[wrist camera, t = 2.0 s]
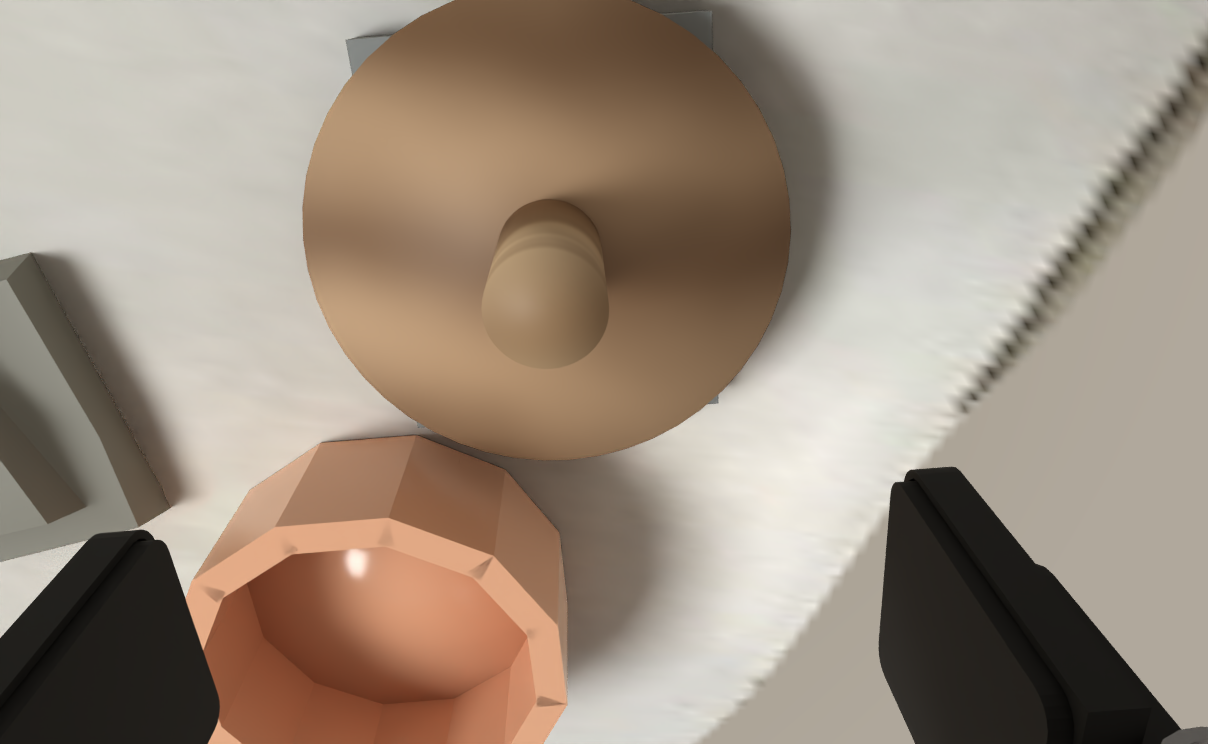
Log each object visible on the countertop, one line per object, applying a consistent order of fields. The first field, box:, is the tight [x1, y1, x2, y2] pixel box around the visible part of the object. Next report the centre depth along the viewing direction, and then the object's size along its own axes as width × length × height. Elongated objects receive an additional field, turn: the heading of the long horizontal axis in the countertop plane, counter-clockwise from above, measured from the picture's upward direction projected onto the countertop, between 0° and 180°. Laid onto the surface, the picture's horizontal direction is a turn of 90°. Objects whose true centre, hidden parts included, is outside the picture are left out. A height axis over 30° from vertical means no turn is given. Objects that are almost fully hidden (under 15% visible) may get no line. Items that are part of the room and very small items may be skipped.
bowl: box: [186, 435, 568, 744], centre depth 29 cm, size 12×12×5 cm
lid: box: [303, 0, 791, 460], centre depth 23 cm, size 14×14×6 cm
